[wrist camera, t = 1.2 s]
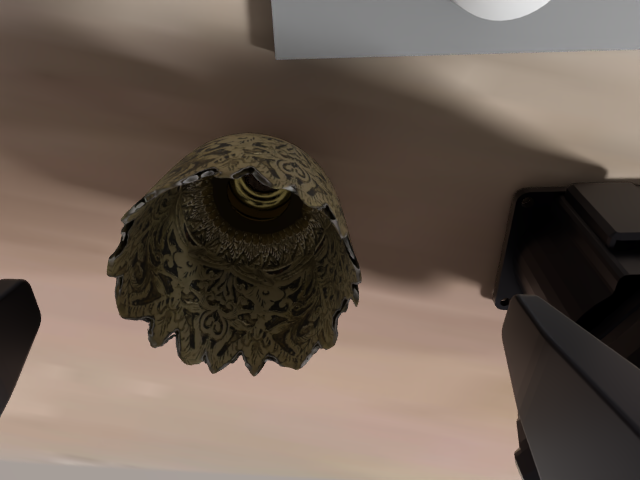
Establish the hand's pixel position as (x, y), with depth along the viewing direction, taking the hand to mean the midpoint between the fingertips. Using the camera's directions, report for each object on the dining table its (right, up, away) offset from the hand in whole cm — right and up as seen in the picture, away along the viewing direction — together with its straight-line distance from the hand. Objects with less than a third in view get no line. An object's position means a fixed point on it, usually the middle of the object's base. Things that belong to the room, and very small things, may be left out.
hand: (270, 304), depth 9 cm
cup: (-2, +4, +12) cm, 13 cm away
